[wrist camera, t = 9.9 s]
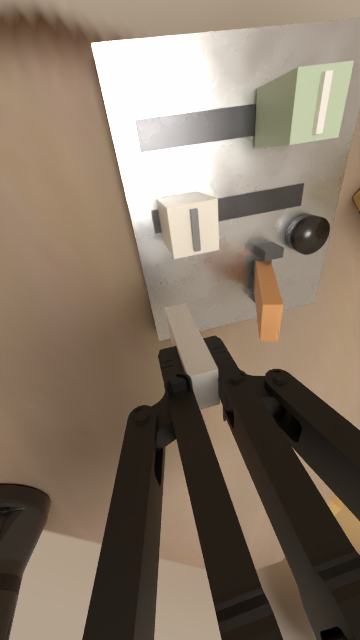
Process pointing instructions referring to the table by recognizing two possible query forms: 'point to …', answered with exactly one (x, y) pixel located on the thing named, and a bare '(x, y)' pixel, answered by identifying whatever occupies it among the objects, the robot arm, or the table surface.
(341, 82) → the slider sage
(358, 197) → the cheese
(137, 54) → the panel
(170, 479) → the table surface
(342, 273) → the table surface
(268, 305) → the lever orange
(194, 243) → the slider ivory
